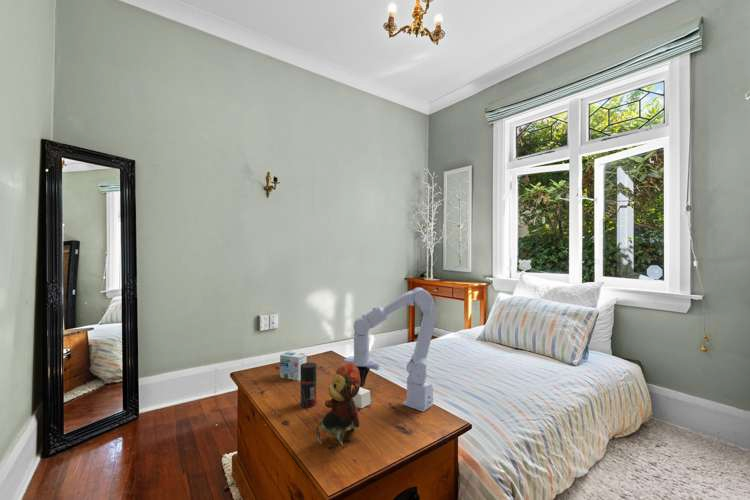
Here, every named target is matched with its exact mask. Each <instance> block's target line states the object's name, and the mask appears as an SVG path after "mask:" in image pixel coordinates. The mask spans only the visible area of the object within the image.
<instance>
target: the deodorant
mask: <svg viewBox="0 0 750 500" xmlns="http://www.w3.org/2000/svg"><path fill="white" fill-rule="evenodd" d="M317 402H318V401H317V363H315V362H307V363H304V364H301V380H300V407H302V408H304V409H305V408H306V409H311V408H314V407H315V406H317Z"/></svg>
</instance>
